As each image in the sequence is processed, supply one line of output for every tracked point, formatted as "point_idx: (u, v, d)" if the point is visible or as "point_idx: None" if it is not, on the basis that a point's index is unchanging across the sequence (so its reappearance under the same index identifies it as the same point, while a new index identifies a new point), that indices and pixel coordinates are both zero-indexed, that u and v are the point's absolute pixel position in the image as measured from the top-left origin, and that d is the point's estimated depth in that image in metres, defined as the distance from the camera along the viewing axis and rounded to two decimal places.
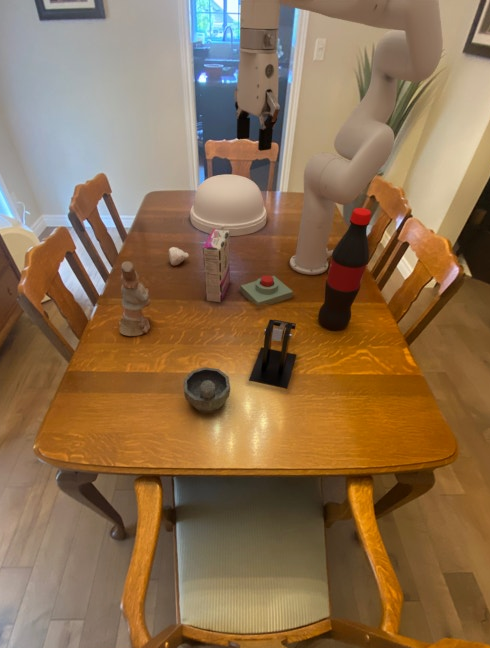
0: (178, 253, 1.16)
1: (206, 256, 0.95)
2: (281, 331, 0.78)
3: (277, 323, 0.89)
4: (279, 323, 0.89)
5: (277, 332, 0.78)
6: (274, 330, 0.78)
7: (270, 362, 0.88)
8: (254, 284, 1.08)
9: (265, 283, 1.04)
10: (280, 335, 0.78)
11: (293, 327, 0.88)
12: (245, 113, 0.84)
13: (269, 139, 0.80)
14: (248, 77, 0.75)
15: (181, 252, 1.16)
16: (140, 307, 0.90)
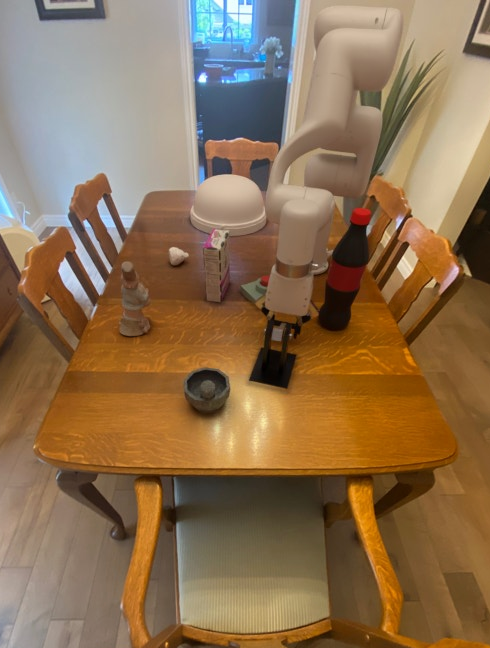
0: (178, 253, 1.16)
1: (206, 256, 0.95)
2: (281, 331, 0.78)
3: (277, 323, 0.89)
4: (279, 323, 0.89)
5: (277, 332, 0.78)
6: (274, 330, 0.78)
7: (270, 362, 0.88)
8: (254, 284, 1.08)
9: (265, 283, 1.04)
10: (280, 335, 0.78)
11: (293, 327, 0.88)
12: None
13: None
14: (291, 293, 0.80)
15: (181, 252, 1.16)
16: (140, 307, 0.90)
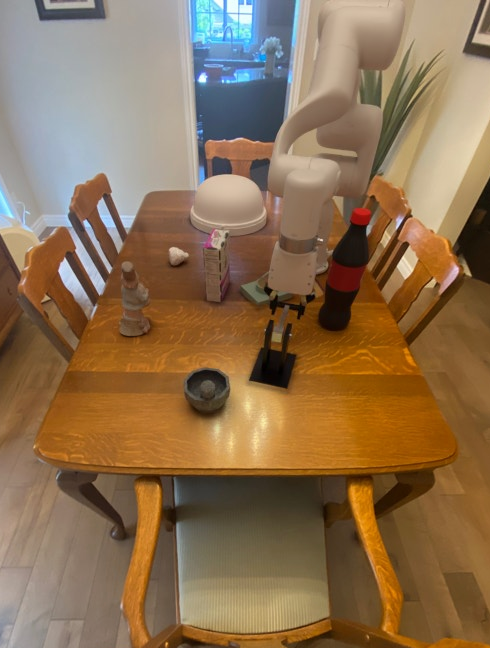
0: (178, 253, 1.16)
1: (206, 256, 0.95)
2: (280, 334, 0.78)
3: (280, 306, 0.86)
4: (282, 306, 0.86)
5: (276, 335, 0.78)
6: (273, 333, 0.78)
7: (270, 362, 0.88)
8: (254, 284, 1.08)
9: None
10: (280, 338, 0.78)
11: (296, 309, 0.86)
12: None
13: None
14: (294, 270, 0.77)
15: (181, 252, 1.16)
16: (140, 307, 0.90)
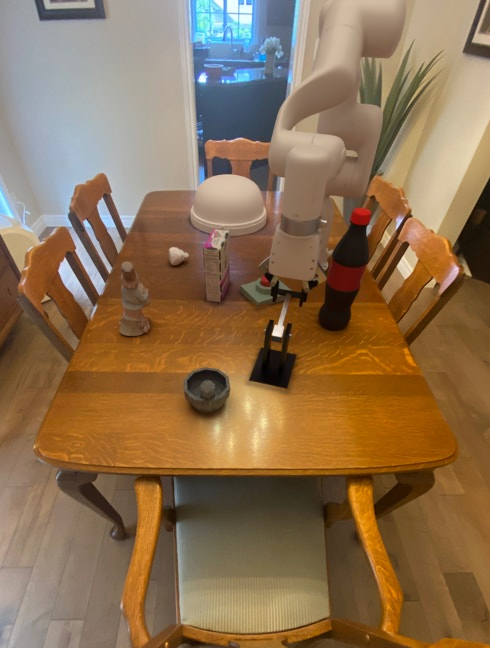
0: (178, 253, 1.16)
1: (206, 256, 0.95)
2: (280, 337, 0.78)
3: (281, 294, 0.83)
4: (283, 294, 0.83)
5: (276, 337, 0.78)
6: (273, 336, 0.78)
7: (270, 362, 0.88)
8: (254, 284, 1.08)
9: (265, 283, 1.04)
10: (279, 339, 0.79)
11: (298, 298, 0.83)
12: None
13: (307, 295, 0.83)
14: (297, 254, 0.73)
15: (181, 252, 1.16)
16: (140, 307, 0.90)
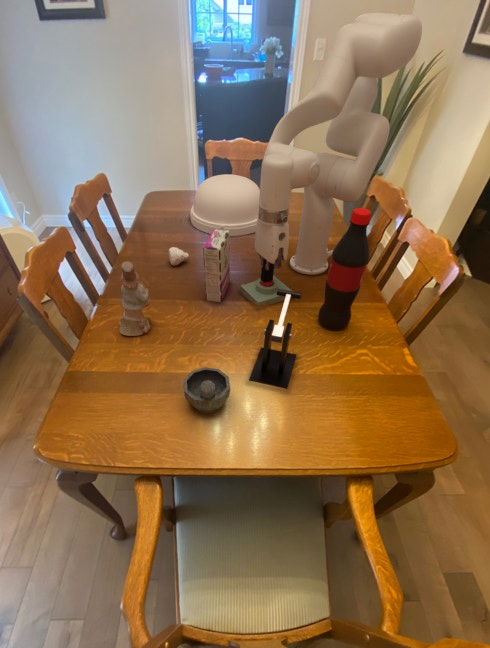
0: (178, 253, 1.16)
1: (206, 256, 0.95)
2: (280, 337, 0.78)
3: (281, 295, 0.83)
4: (283, 295, 0.83)
5: (276, 337, 0.78)
6: (273, 336, 0.78)
7: (270, 362, 0.88)
8: (254, 284, 1.08)
9: (265, 284, 1.04)
10: (279, 339, 0.79)
11: (298, 298, 0.83)
12: (267, 261, 1.02)
13: (271, 275, 1.03)
14: (264, 237, 0.94)
15: (181, 252, 1.16)
16: (140, 307, 0.90)
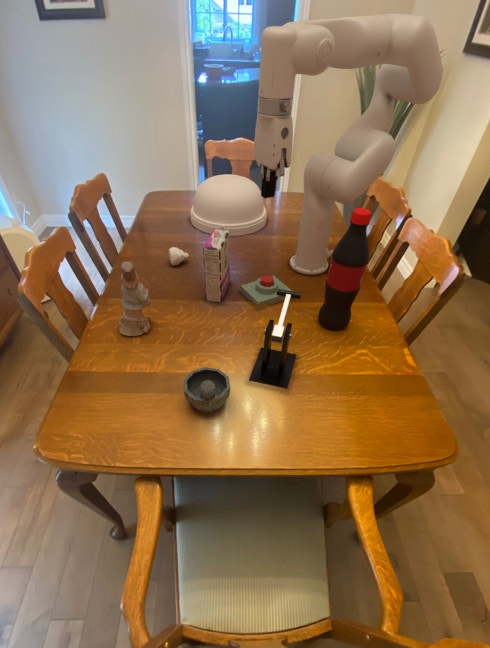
0: (178, 253, 1.16)
1: (206, 256, 0.95)
2: (280, 337, 0.78)
3: (281, 295, 0.83)
4: (283, 295, 0.83)
5: (276, 337, 0.78)
6: (273, 336, 0.78)
7: (270, 362, 0.88)
8: (254, 284, 1.08)
9: (265, 283, 1.04)
10: (279, 339, 0.79)
11: (298, 298, 0.83)
12: None
13: (273, 189, 0.92)
14: (265, 136, 0.83)
15: (181, 252, 1.16)
16: (140, 307, 0.90)
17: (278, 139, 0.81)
